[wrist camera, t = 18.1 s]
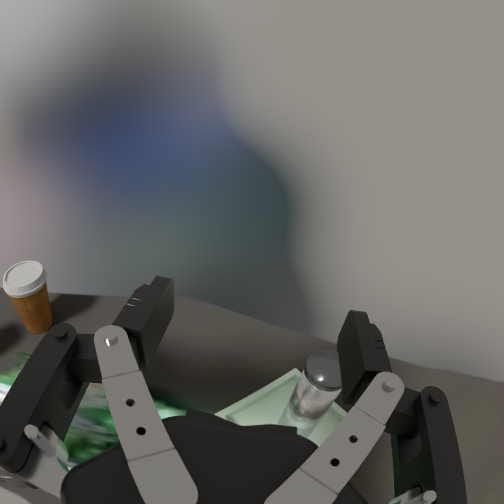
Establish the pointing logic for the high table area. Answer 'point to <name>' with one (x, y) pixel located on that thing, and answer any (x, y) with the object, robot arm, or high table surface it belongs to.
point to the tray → (279, 408)
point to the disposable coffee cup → (29, 294)
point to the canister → (313, 392)
